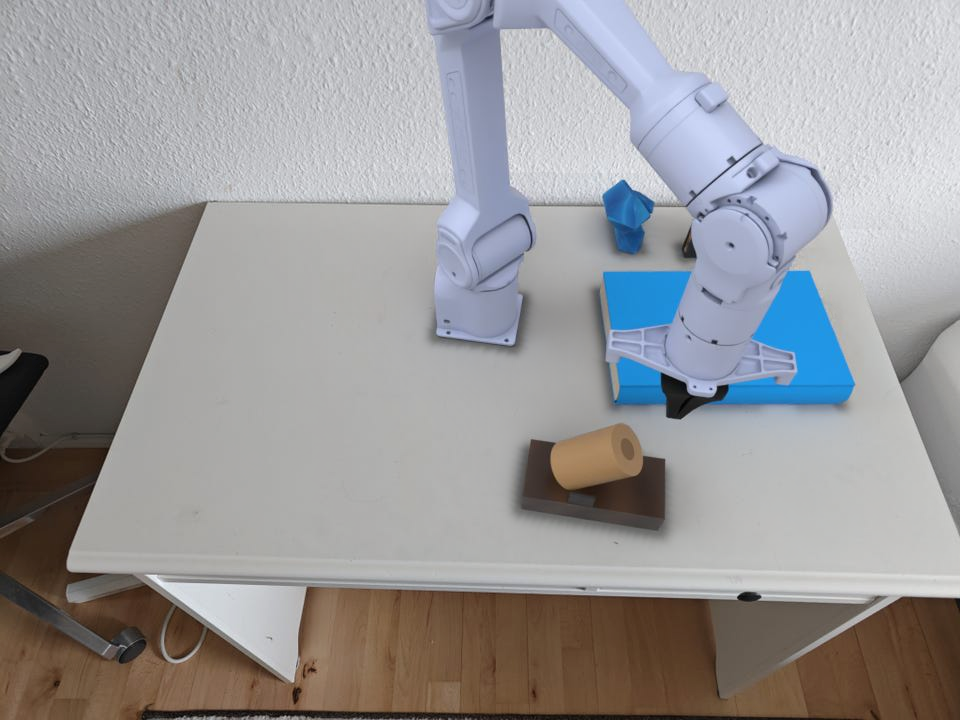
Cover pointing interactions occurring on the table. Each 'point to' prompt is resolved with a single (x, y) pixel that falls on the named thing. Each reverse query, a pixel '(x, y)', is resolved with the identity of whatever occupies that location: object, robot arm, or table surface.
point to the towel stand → (597, 493)
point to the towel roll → (597, 457)
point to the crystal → (627, 215)
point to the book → (785, 326)
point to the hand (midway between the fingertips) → (673, 409)
